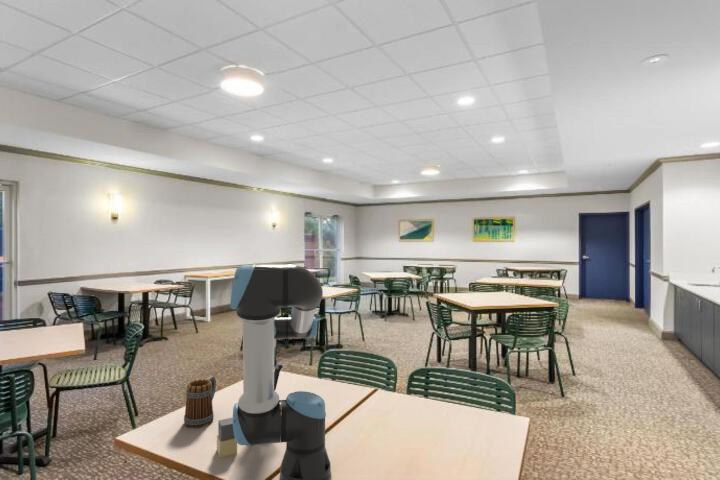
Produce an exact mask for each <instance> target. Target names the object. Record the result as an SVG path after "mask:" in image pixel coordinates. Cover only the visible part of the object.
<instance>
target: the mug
mask: <svg viewBox="0 0 720 480" xmlns="http://www.w3.org/2000/svg"><path fill="white" fill-rule="evenodd" d="M216 380H217V379H216V378H215V377H214V376H207V377H206V379H202V378H201V379H197V380H196V379H195V380H192V381H189V383H187V387H186V392H185V393H186V394H185V397H186V398H185V399H186V400H185V411H184V416H183V422H184V425H185V426H186V427H188V428H190V429H192V428H194V429H197V428H202V427H206V426H208V425H209V424H211V423H212V422H213V420H214V409H213V399H214V398H215V394H216V388H217V387H216V386H217V382H216Z"/></svg>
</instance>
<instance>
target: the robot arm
mask: <svg viewBox="0 0 720 480" xmlns="http://www.w3.org/2000/svg"><path fill="white" fill-rule="evenodd" d="M323 295H324V293H323V287H322V284H321V282H320V280H319V279H318V277H317V276H316V275H315V274H314V273H313V272H311V271H310V270H308V269H306V268H305V267H303V266H300V265H296V264H255V263H253V264H244V265H240V266H238V267H237V268H236V270H235V271H234V277H233V282H232V287H231V292H230V302H229V303H230V308H231V309H232V310H236V317H238V319H240V320H241V321H242V363H243V364H242V367H243V370H242V371H243V375H242V377H243V380H242V381H243V388H242V389H243V393H242V394H241V395H240V396H239V399H238V402H236V403H234V406H233V407H232V408H233V409H232V417H233V431H234V436H235V440H236V442H237V445H239V446H250V447H251V446H252V447H253V446H256V445H257V446H258V445H268V444H279V443H280V444H282V443H286V444H285V445H286V447H285V451H284V454H283V457H282V460H281V464H280V466H279V478H280V480H328V479H329V477H330V476H331V473H332V471H331V461H330V458H329V455H328V451H327V448H326V417H327V413H326V403H325V402H326V401H325V399H324V398H323V397H321V396H320V395H319V394H316V393H315V392H311V391H305V390H304V391H303V390H302V391H301V390H300V391H299V390H298V391H294V392H290V393H289V394H287V396H286V398H285V399H280V396H279V393H277V391H276V389H277V385H278V382H279V377H280V372H281V371H282V369H283V365H282V364H281V363H279V362H278V361H277V349H276V347H277V340H285V339H286V340H288V339H311V338H315V337H316V336H317V335H318V319H317V317H315V314H316V309H317V308H318V307H319V306H320V304H321V302H322V299H323ZM281 308H291V315H290V316H289V317H279V315H280V314H281Z"/></svg>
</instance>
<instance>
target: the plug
mask: <svg viewBox="0 0 720 480" xmlns="http://www.w3.org/2000/svg"><path fill="white" fill-rule="evenodd" d="M217 426H218V429H217V430H218V433H217V435H216V451H217V455H218V456H219V458H220V459H221V457H222V458H226V457H228V456H229V457H230V456H232V455H236V453H237V454H238V443H237V442H236V440H235V436H234V431H233V416H232V417H228V418H224V419H219V420H218V425H217Z"/></svg>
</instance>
